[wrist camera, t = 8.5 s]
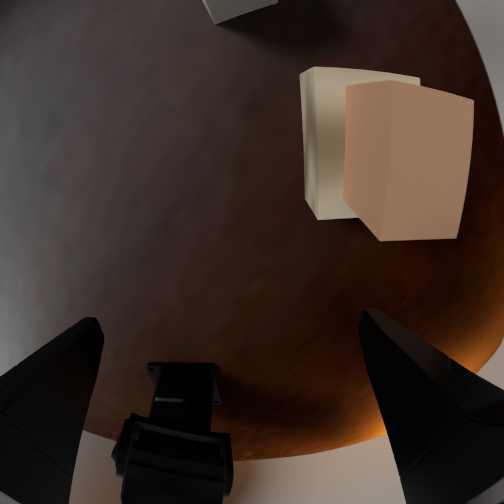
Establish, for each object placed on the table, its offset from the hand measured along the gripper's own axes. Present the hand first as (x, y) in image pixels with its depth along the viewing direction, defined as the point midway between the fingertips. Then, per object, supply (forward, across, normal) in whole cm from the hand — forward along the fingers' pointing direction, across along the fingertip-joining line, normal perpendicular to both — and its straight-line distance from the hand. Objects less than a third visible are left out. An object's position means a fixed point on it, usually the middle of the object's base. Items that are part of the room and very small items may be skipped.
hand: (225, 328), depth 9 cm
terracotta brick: (+7, -8, -5) cm, 12 cm away
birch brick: (+11, -7, -5) cm, 14 cm away
